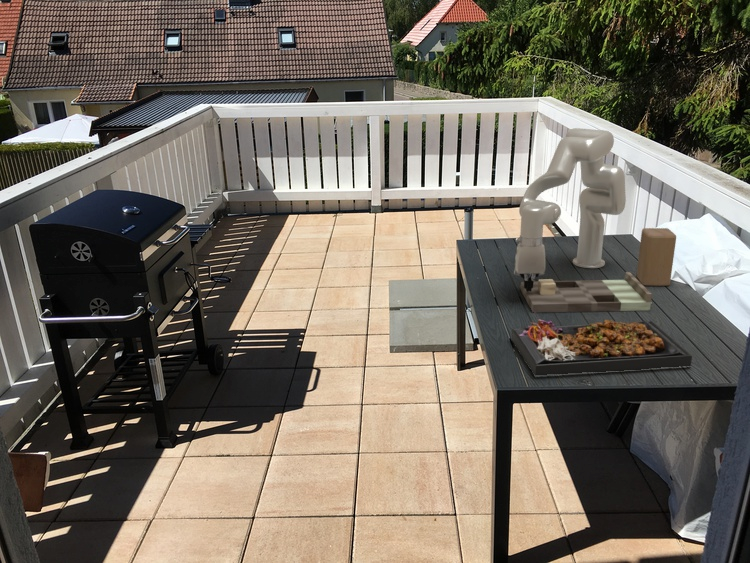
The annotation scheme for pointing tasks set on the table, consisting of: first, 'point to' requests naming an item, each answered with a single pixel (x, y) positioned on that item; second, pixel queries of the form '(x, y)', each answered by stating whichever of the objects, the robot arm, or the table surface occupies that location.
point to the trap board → (591, 296)
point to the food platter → (597, 347)
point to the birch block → (546, 287)
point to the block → (656, 256)
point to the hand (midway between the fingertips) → (528, 289)
